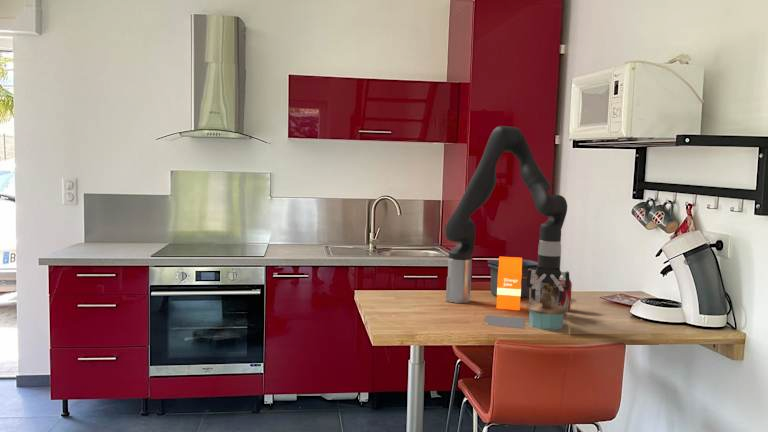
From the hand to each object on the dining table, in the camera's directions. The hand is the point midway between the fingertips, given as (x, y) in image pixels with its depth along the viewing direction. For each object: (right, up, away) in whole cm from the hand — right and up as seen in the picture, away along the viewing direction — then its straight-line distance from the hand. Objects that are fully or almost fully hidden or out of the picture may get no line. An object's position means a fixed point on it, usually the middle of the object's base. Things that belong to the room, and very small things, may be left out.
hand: (546, 300), depth 218 cm
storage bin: (-1, -5, +50) cm, 50 cm away
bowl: (0, -9, +1) cm, 9 cm away
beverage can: (+13, -7, +27) cm, 31 cm away
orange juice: (-8, -7, +27) cm, 29 cm away
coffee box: (+4, -8, +19) cm, 21 cm away
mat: (-14, -9, +4) cm, 17 cm away
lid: (0, -3, 0) cm, 3 cm away
